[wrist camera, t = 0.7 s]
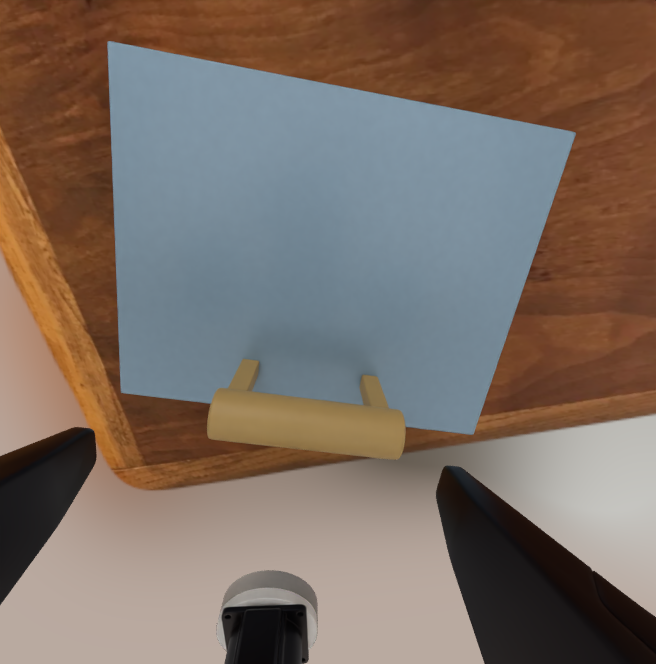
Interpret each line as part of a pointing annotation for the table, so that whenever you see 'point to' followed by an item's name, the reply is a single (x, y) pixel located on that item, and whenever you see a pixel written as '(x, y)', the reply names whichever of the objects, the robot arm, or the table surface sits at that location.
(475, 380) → the lid
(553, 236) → the table surface
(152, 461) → the table surface
